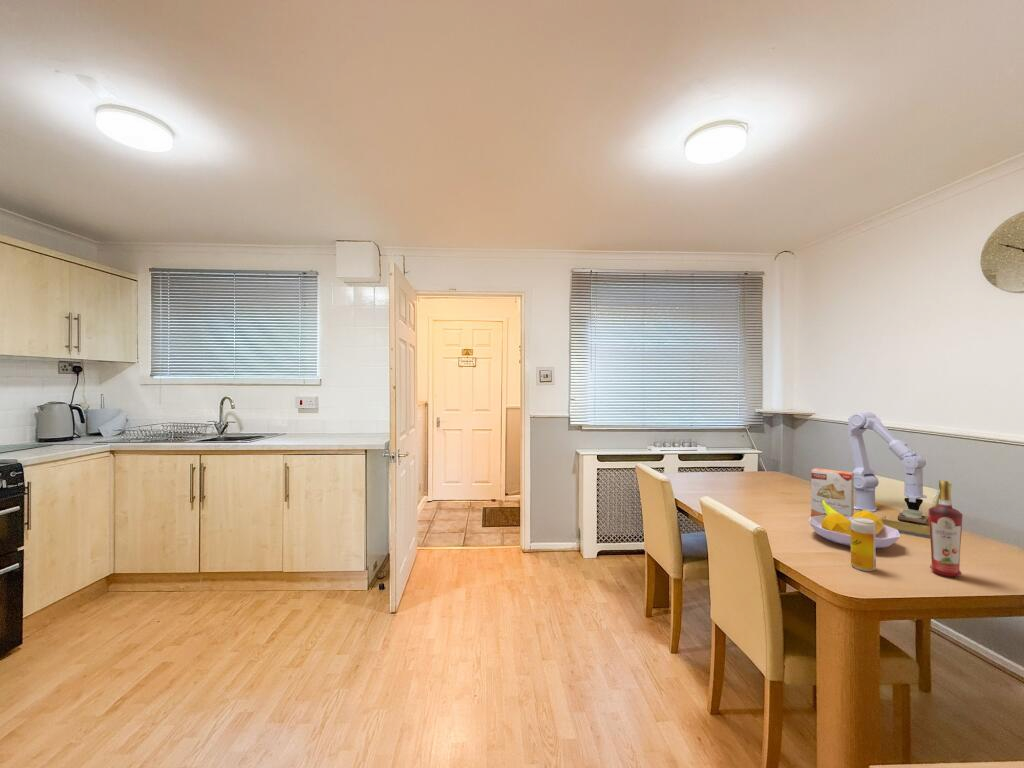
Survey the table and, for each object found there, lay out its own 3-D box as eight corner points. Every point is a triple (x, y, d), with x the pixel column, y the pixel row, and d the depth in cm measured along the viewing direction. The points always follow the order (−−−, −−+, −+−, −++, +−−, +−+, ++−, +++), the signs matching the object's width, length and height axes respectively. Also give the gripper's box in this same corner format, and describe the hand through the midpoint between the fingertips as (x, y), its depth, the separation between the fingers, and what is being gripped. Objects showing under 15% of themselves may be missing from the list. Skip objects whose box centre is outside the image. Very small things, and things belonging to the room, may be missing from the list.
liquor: (961, 573, 133) (961, 481, 133) (963, 582, 127) (963, 485, 127) (928, 567, 138) (927, 477, 138) (929, 574, 132) (928, 481, 132)
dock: (883, 520, 185) (882, 510, 185) (942, 530, 172) (942, 519, 172) (877, 528, 174) (877, 518, 174) (941, 540, 161) (941, 529, 161)
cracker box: (810, 518, 188) (810, 469, 188) (813, 515, 192) (813, 467, 193) (851, 525, 178) (851, 473, 178) (854, 522, 183) (853, 471, 183)
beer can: (851, 562, 141) (851, 515, 141) (875, 567, 137) (875, 519, 137) (850, 568, 137) (850, 520, 137) (875, 573, 133) (875, 524, 133)
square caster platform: (899, 518, 187) (899, 506, 187) (927, 523, 181) (927, 510, 181) (897, 522, 180) (897, 509, 180) (926, 527, 174) (926, 514, 174)
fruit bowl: (918, 560, 143) (917, 525, 143) (820, 550, 152) (820, 517, 152) (878, 532, 170) (878, 503, 170) (797, 525, 178) (796, 497, 179)
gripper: (925, 488, 177) (925, 522, 177) (927, 482, 187) (927, 514, 187) (902, 485, 182) (902, 518, 182) (905, 480, 192) (905, 511, 192)
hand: (913, 516), depth 185 cm, fingers closed
